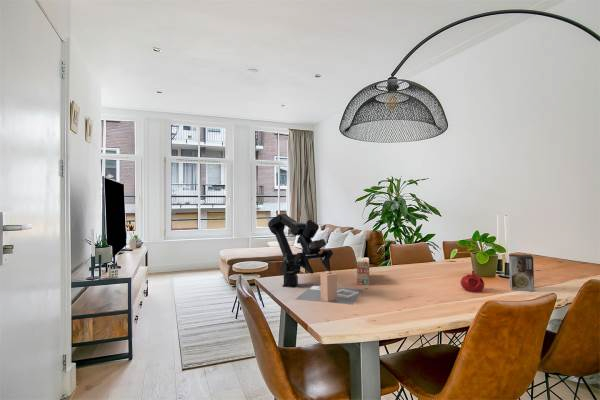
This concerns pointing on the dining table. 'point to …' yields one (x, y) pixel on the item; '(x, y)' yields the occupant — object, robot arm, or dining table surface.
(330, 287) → the column block
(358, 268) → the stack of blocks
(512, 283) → the coffee box
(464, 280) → the pomegranate
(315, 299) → the board
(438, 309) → the dining table surface
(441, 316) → the dining table surface
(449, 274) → the dining table surface
